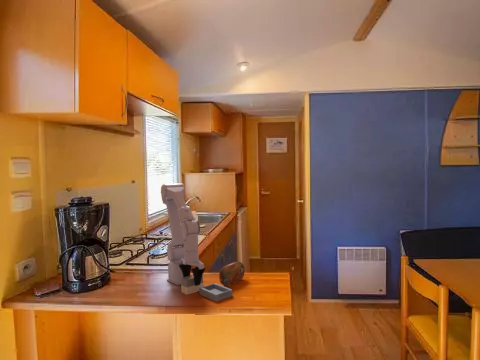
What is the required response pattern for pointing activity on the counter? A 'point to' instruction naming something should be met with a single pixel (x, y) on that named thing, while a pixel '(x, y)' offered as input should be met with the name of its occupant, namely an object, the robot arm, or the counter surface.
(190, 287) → the block
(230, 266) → the tin
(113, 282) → the counter surface
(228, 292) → the grey rectangular tray
